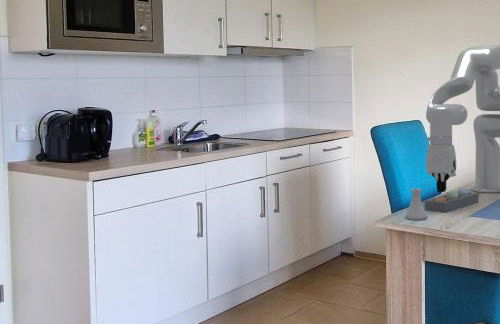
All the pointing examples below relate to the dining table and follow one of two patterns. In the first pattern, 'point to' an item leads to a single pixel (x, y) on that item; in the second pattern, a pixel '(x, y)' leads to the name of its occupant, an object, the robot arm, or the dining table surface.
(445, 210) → the console
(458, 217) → the dining table surface
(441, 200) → the terracotta button
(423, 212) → the flask
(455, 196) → the sage button
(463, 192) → the slate button
